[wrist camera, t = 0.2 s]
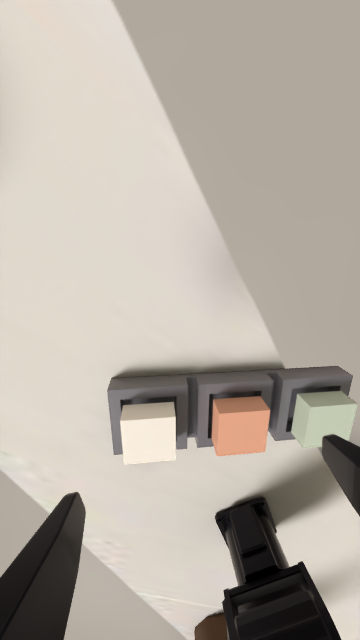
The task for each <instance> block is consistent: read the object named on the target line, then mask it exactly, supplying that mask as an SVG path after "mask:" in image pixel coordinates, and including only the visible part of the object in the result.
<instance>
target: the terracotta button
mask: <svg viewBox="0 0 360 640" xmlns="http://www.w3.org/2000/svg"><path fill="white" fill-rule="evenodd" d="M269 417H270V409H269V408H268V406H267V405H266V403H265V402H264V401H263V399H262V398H261V396H255V397H240V398H225V399H213V420H212V442H213V445H214V448H215V452H216V455H217V456H225V455H236V454H247V453H258V452H265V448H266V440H267V433H268V425H269Z"/></svg>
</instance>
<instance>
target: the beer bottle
mask: <svg viewBox="0 0 360 640" xmlns="http://www.w3.org/2000/svg"><path fill="white" fill-rule="evenodd" d="M194 632H195V640H228V636H227V626H226V620H225V614H224V613H222V614H217V615H213V616H209V617H206V618H205V619H204V620H203V621H202V622H201V623H200V624H199V625H198V626H196V627H195V631H194Z"/></svg>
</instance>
